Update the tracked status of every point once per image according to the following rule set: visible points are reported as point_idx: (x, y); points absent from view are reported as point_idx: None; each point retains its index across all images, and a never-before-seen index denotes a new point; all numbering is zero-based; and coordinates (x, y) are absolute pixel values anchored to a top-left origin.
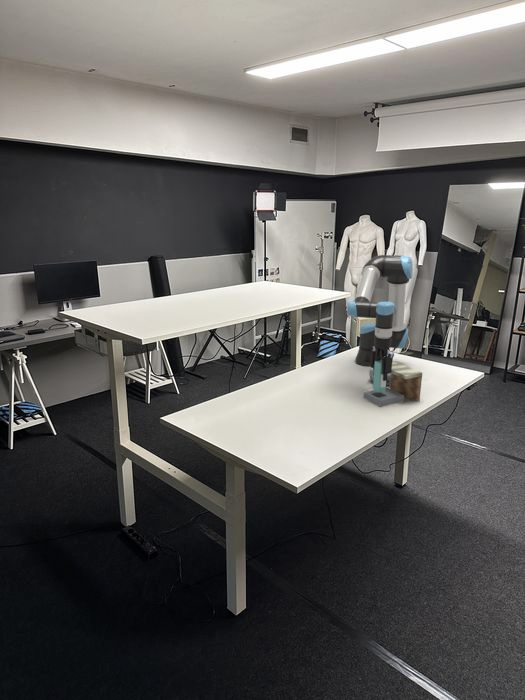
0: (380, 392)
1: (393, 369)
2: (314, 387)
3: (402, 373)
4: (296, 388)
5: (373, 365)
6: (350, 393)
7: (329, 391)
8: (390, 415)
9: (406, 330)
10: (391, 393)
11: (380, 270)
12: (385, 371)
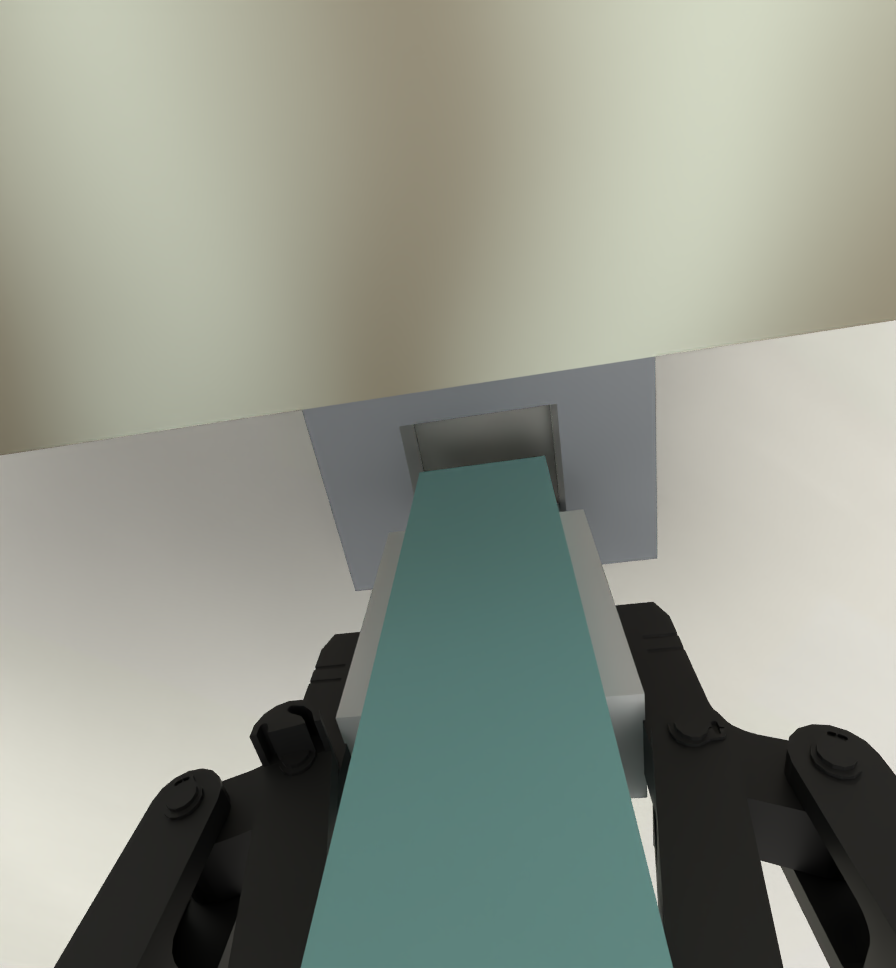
0: (418, 423)
1: (356, 295)
2: (61, 774)
3: (879, 230)
4: (82, 863)
5: (227, 884)
6: (230, 601)
7: (160, 722)
8: (861, 537)
9: None
10: None
11: None
12: (795, 888)
